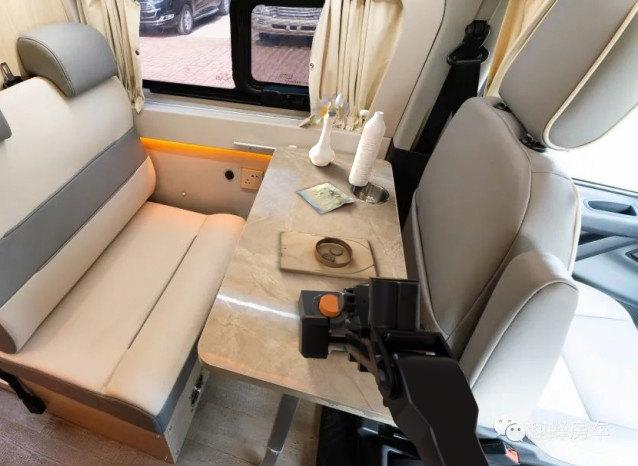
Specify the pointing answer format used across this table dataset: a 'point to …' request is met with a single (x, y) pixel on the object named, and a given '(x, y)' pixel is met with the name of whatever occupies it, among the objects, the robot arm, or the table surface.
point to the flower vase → (327, 126)
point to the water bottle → (367, 149)
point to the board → (327, 256)
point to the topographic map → (325, 197)
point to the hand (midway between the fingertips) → (344, 327)
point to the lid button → (329, 306)
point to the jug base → (311, 307)
